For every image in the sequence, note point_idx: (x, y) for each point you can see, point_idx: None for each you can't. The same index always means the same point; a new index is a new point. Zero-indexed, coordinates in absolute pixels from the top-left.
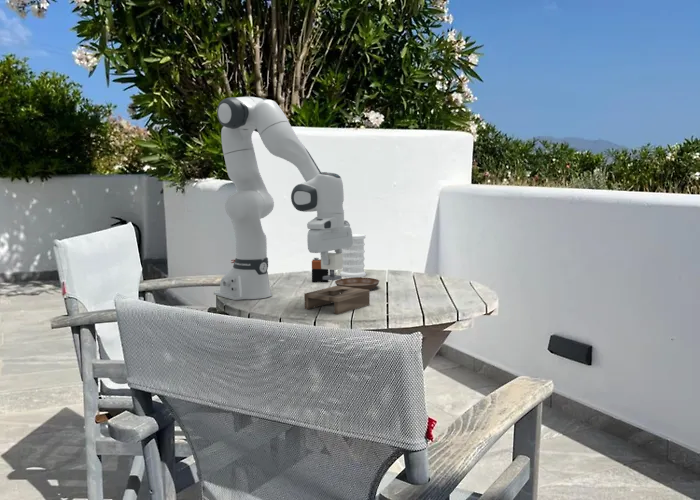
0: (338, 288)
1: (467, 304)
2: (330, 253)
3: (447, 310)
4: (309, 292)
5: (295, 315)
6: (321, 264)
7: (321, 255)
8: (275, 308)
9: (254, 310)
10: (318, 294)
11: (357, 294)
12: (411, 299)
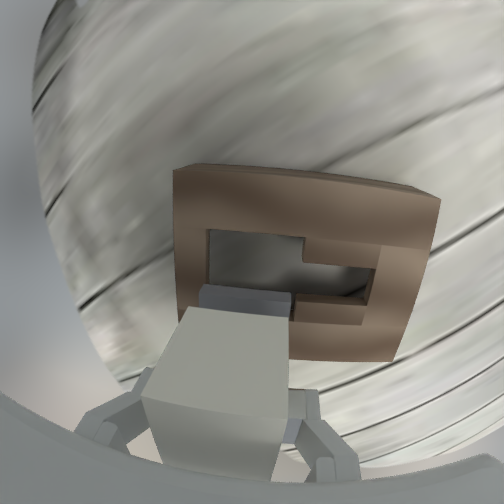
0: (380, 245)
1: (426, 448)
2: (218, 453)
3: (366, 453)
4: (211, 173)
5: (105, 203)
6: (178, 330)
7: (94, 413)
8: (146, 67)
9: (93, 44)
10: (193, 243)
11: (311, 356)
12: (466, 370)
